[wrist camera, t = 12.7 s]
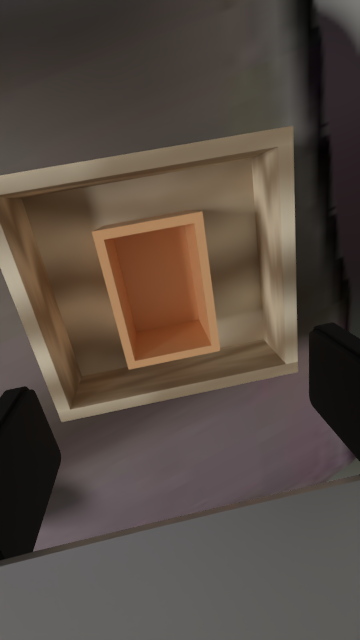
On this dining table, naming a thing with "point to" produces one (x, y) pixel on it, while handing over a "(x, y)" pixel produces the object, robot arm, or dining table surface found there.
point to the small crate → (159, 287)
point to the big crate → (142, 202)
